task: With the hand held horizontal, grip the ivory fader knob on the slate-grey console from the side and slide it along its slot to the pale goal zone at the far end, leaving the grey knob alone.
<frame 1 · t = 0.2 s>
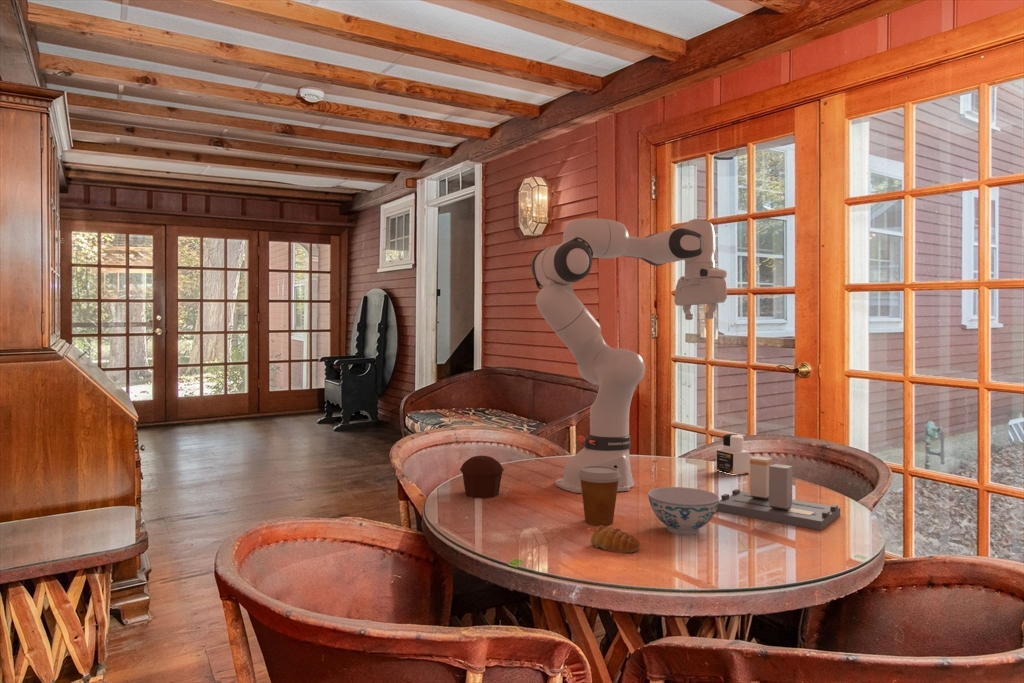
hand: (698, 319, 195), 48 cm above the table, tool pointing down, fingers open, 8 cm apart
fader b: (780, 487, 150), point 7 cm above the table, slide at 2.0 cm
disposable coffee cup: (599, 522, 146), on the table
fader a: (760, 477, 160), point 7 cm above the table, slide at -5.0 cm
medicine bottle: (733, 473, 201), on the table
chinaware: (682, 531, 140), on the table
muffin: (481, 495, 171), on the table
pastry: (613, 548, 129), on the table
console: (777, 513, 155), on the table
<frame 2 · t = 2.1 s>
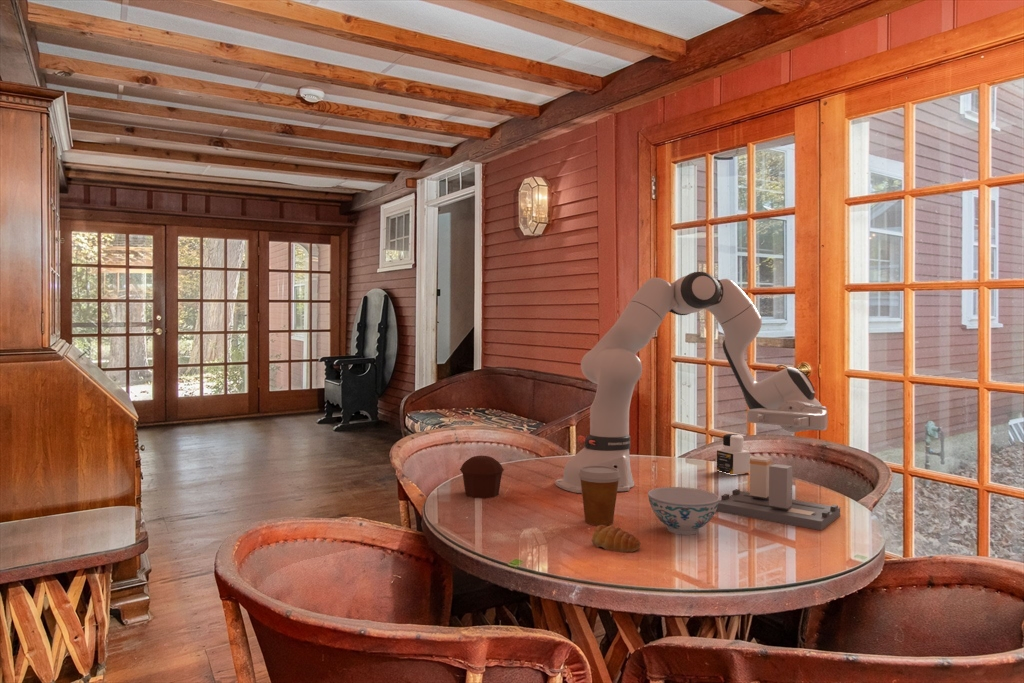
hand: (777, 421, 169), 20 cm above the table, tool horizontal, fingers open, 8 cm apart
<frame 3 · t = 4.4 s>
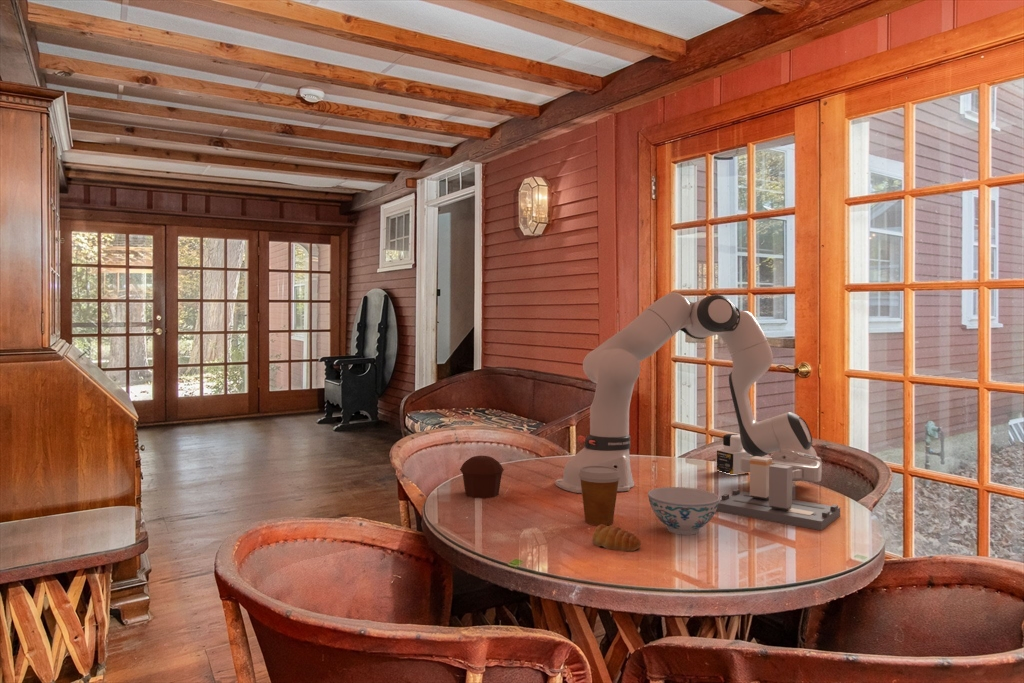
hand: (770, 472, 166), 7 cm above the table, tool horizontal, fingers open, 8 cm apart
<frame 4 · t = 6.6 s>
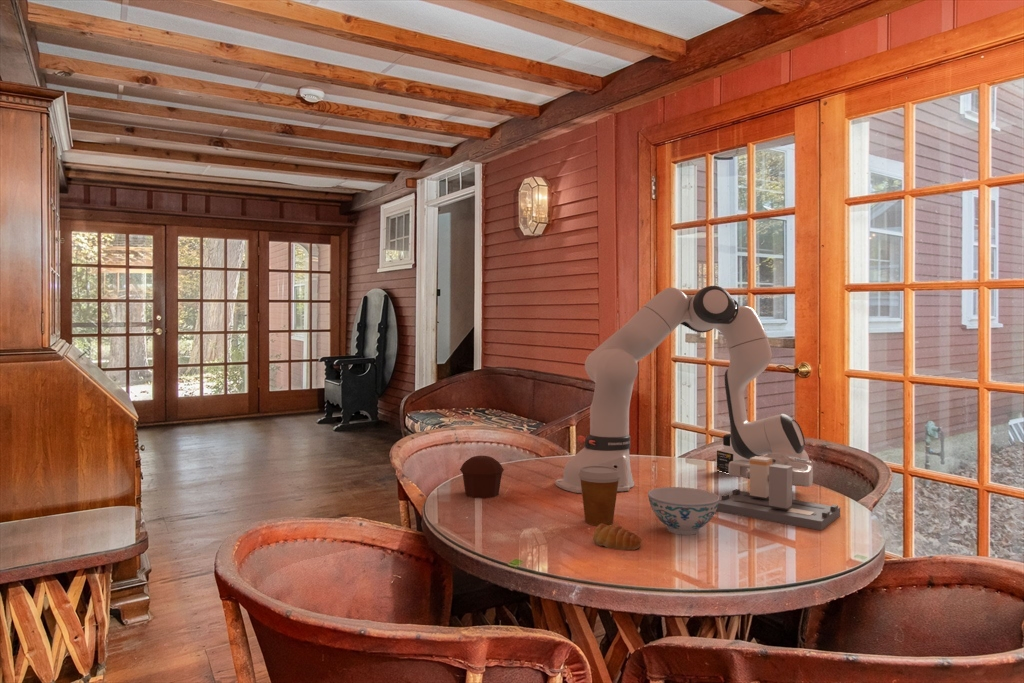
hand: (759, 477, 160), 8 cm above the table, tool horizontal, fingers closed on fader a, 4 cm apart
fader a: (760, 477, 160), point 7 cm above the table, slide at -5.0 cm, touching gripper
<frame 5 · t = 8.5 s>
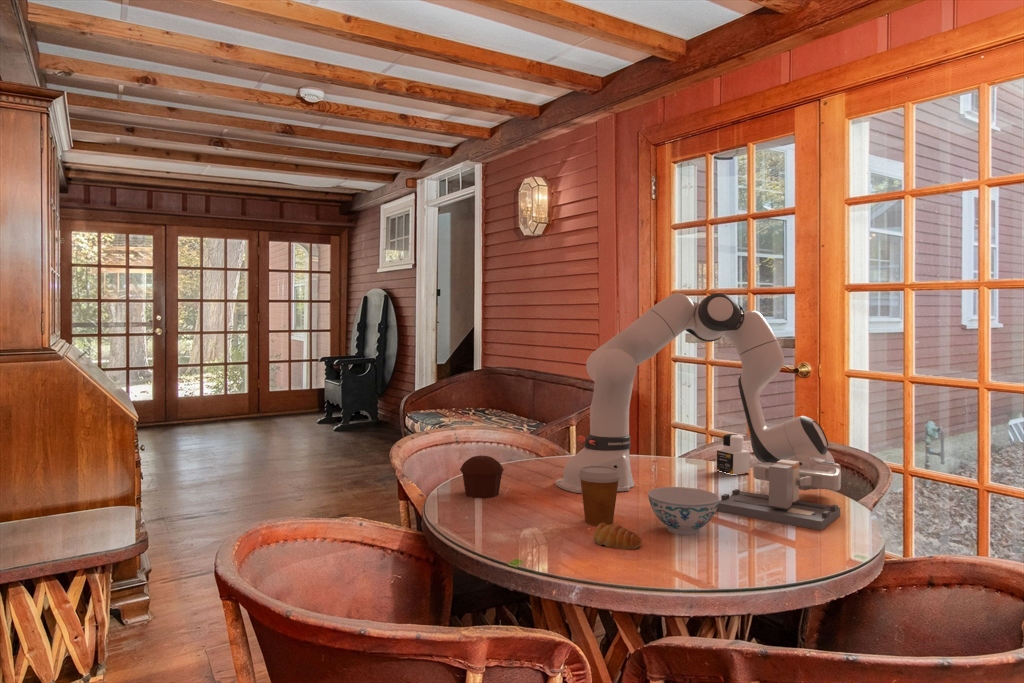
hand: (786, 480, 155), 8 cm above the table, tool horizontal, fingers closed on fader a, 4 cm apart
fader a: (787, 481, 156), point 7 cm above the table, slide at 1.5 cm, touching gripper
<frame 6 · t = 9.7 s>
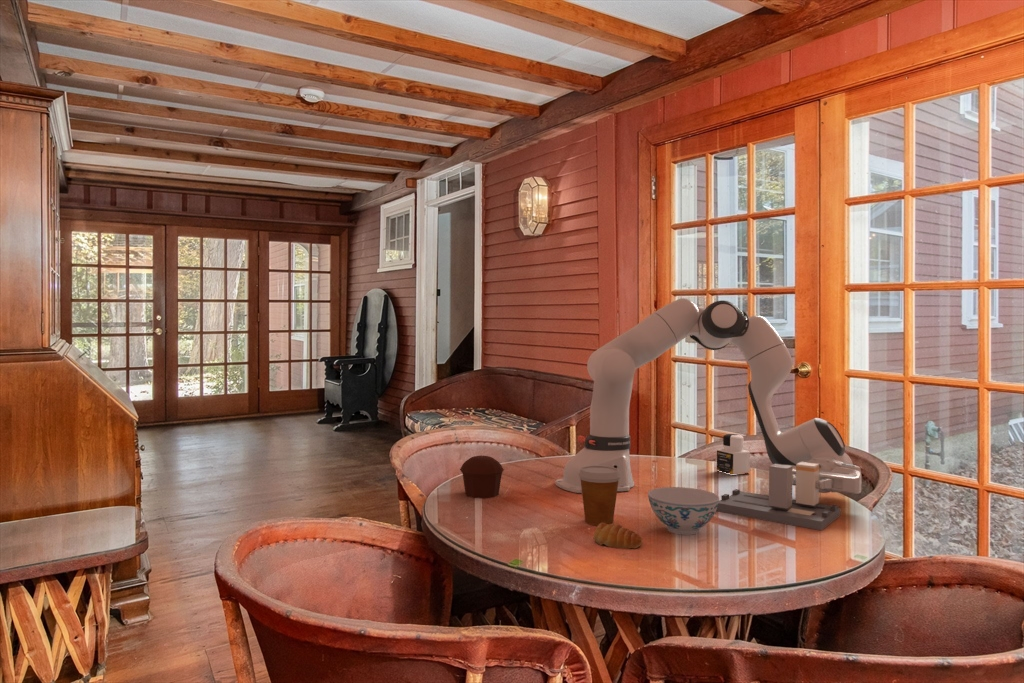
hand: (806, 483, 152), 8 cm above the table, tool horizontal, fingers closed on fader a, 4 cm apart
fader a: (807, 484, 153), point 7 cm above the table, slide at 6.0 cm, touching gripper
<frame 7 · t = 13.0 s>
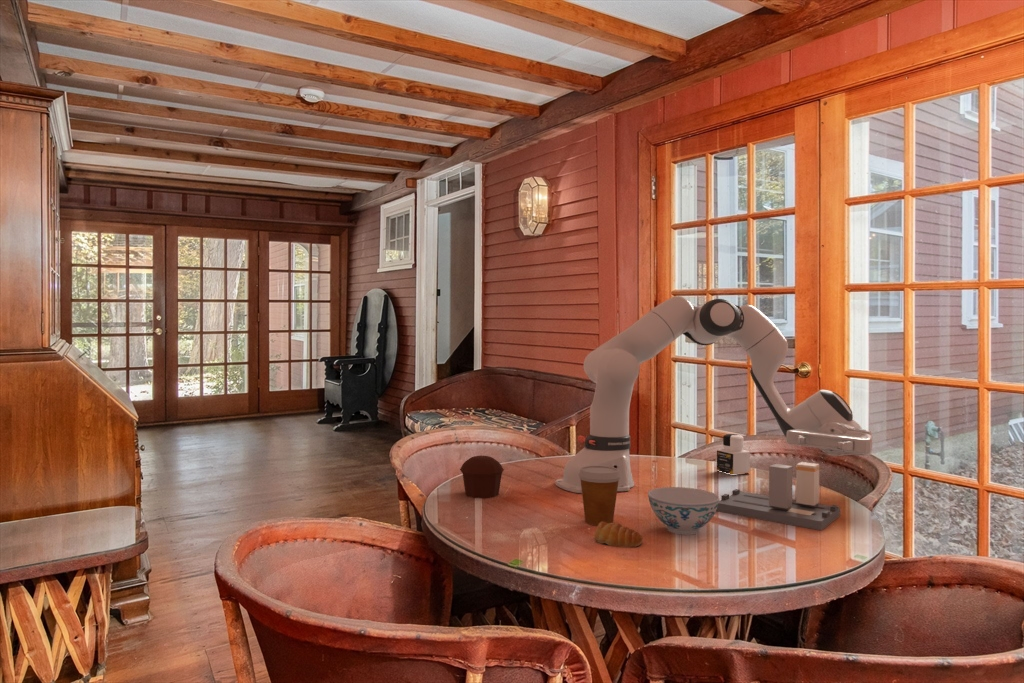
hand: (820, 443, 162), 16 cm above the table, tool horizontal, fingers open, 8 cm apart
fader a: (807, 484, 153), point 7 cm above the table, slide at 6.0 cm
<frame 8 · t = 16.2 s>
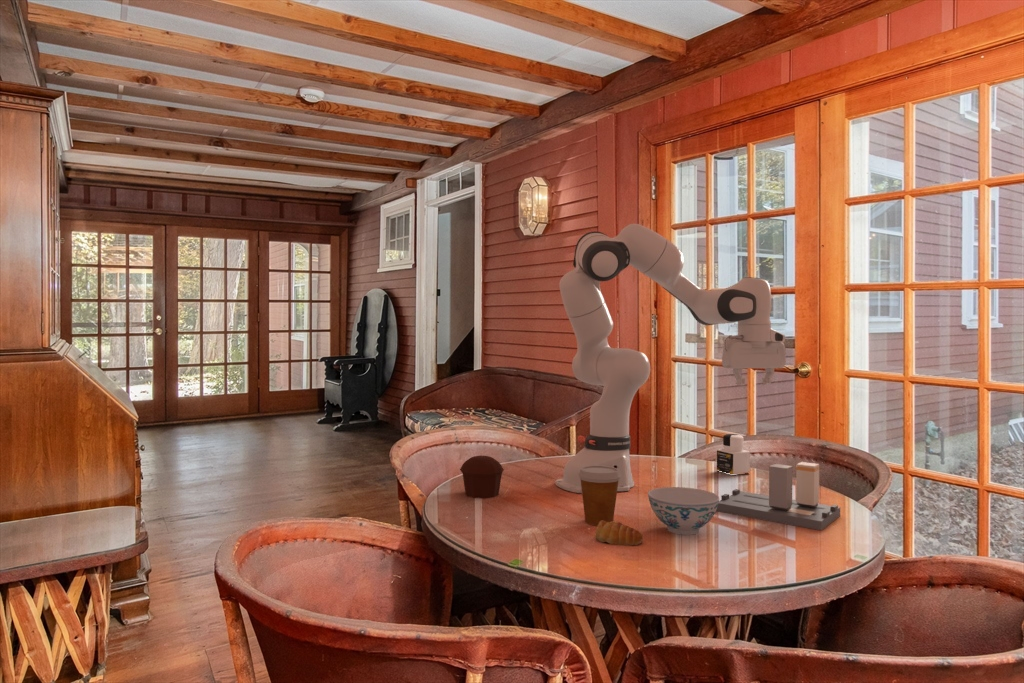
hand: (753, 384, 181), 29 cm above the table, tool pointing down, fingers open, 8 cm apart
at the end: fader a slide at 6.0 cm; fader b slide at 2.0 cm; the gripper is holding nothing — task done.
